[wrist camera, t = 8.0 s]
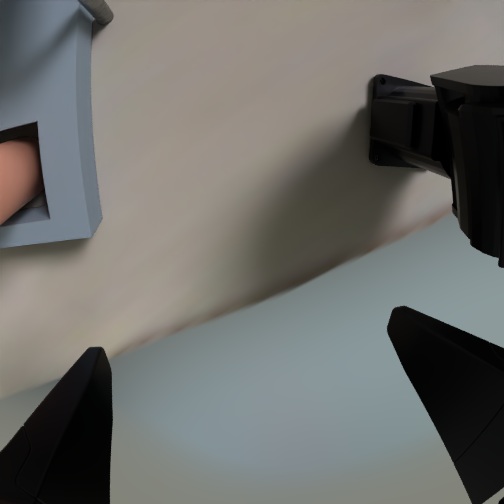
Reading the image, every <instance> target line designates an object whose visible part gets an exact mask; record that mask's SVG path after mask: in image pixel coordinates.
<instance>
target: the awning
mask: <svg viewBox="0 0 504 504" xmlns="http://www.w3.org/2000/svg"><path fill="white" fill-rule="evenodd" d="M2 1H5V0H0V2H2ZM77 1H78V2H79V3H80V4H81V5H82V6H83V7H84V8H85V9H86V10H87V11H88V12H89V13H90V14H91V15H92V16H93V17H94V18H95V19H96V20H97V21H98V22H99V23H100V24H103V25H104V24H108V23H109V22H111V21H112V19H113V16H114V15H113V12H112V11H111V9H110V8H109V6H108V5H107V3H106V2H105V0H77Z"/></svg>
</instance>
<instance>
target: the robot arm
mask: <svg viewBox="0 0 504 504" xmlns="http://www.w3.org/2000/svg"><path fill="white" fill-rule="evenodd" d="M430 78H431V82H432V85H434V87H435V88H434V87H431V86H427V85H424V84H420V83H416V82H413V81H409V80H405V79H401V78H397V77H392V76H388V75H384V74H378V75H376V76H375V77H374V84H373V101H372V112H371V129H370V136H371V141H370V154H369V160H370V162H371V163H372V164H374V165H377V166H396V167H411V168H423V169H426V170H428V171H431V172H434V173H436V174H439V175H441V176H444V177H446V178H449V179H451V184H452V194H453V204H452V212H453V214H454V215H455V216H456V217H457V218H458V221H459V225H460V229H461V230H462V231H463V232H464V234H465V235H466V236H467V237H468V238H469V239H470V244H471V246H472V247H474V248H476V249H477V250H479V251H481V252H482V253H484V254H487V255H490V256H492V257H497V258H499V261H498V266H499V267H501V268H504V66H498V65H474V66H469V67H464V68H459V69H455V70H450V71H446V72H442V73H438V74H434V75H430ZM380 79H382V84H381V83H380ZM376 156H378V159H377V160H375V157H376ZM387 332H388V335H389V337H390V340H391V342H392V344H393V346H394V348H395V350H396V353H397V355H398V357H399V359H400V362H401V364H402V366H403V368H404V370H405V372H406V374H407V376H408V378H409V379H410V381H411V383H412V385H413V386H414V388H415V390H416V392H417V394H418V395H419V397H420V399H421V401H422V403H423V405H424V406H425V408H426V410H427V412H428V414H429V416H430V418H431V420H432V422H433V423H434V425H435V427H436V429H437V431H438V433H439V435H440V437H441V439H442V441H443V443H444V445H445V447H446V449H447V451H448V453H449V455H450V457H451V459H452V461H453V462H454V466H455V468H456V470H457V472H458V474H459V476H460V478H461V480H462V482H463V485H464V487H465V489H466V491H467V493H468V496H469V498H470V500H471V503H472V504H482V503H484V502H485V501H486V500H488V499H489V498H490V497H492V496H493V495H494V494H496V493H497V492H498V491H500V490H501V489H502V488H503V487H504V348H502V347H500V346H498V345H495V344H493V343H489V342H488V341H486V340H483V339H481V338H479V337H477V336H474V335H472V334H470V333H467V332H465V331H462V330H460V329H458V328H456V327H453V326H451V325H449V324H446V323H444V322H442V321H440V320H437V319H435V318H432V317H430V316H428V315H425V314H423V313H421V312H418V311H416V310H414V309H411V308H409V307H407V306H400V307H395V308H394V309H393V310H392V313H391V316H390V319H389V323H388V326H387ZM112 425H113V410H112V372H111V367H110V364H109V362H108V359H107V356H106V353H105V351H104V349H103V348H102V347H89V348H88V349H87V350H86V351H85V352H84V353H83V354H82V356H81V357H80V358H79V359H78V360H77V361H76V362H75V364H74V365H73V366H72V367H71V368H70V369H69V370H68V372H67V373H66V374H65V375H64V376H63V377H62V379H61V380H60V381H59V382H58V383H57V384H56V386H55V387H54V388H53V389H52V390H51V391H50V393H49V394H48V395H47V396H46V397H45V399H44V400H43V401H42V402H41V403H40V405H39V406H38V407H37V408H36V410H35V411H34V412H33V413H32V414H31V416H30V417H29V418H28V419H27V421H26V422H25V423H24V426H22V427H21V428H20V429H19V430H18V432H17V433H16V434H15V435H14V437H13V438H12V439H11V440H10V442H9V443H8V444H7V445H6V446H5V447H4V448H3V450H1V452H0V504H110V462H111V440H112ZM498 504H504V497H503V498H502V499H501V500H500V501H499V503H498Z"/></svg>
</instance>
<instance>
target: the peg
mask: <svg viewBox="0 0 504 504" xmlns="http://www.w3.org/2000/svg"><path fill="white" fill-rule="evenodd" d="M44 188H45V185H44V178H43V171H42V164H41V155H40V146H39V141H38V140H36V139H34V138H31V137H20V138H17V139H14V140H10V141H7V142H4V143H1V144H0V225H1V224H2V223H3V222H4V221H6V220H7V219H8V218H9V217H10V216H12V215H13V214H14V213H15V212H16V211H18V210H19V209H20V208H21V207H23V206H24V205H25V204H26V203H28V202H29V201H30V200H31V199H33V198H34V197H35V196H37V195H38V194H39V193H40V192H41V191H42V190H43V189H44Z"/></svg>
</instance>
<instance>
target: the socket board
mask: <svg viewBox="0 0 504 504" xmlns="http://www.w3.org/2000/svg"><path fill="white" fill-rule="evenodd" d="M92 20H93V16H92V15H91V14H90V13H89V12H88V11H87V10H86V9H85V8H84V7H83V6H82V5H81V4H80V3H79V2H78V1H77V0H5V1H2V2H0V132H2V131H5V130H9V129H13V128H16V127H20V126H24V125H28V124H32V123H36V122H38V135H39V146H40V155H41V164H42V171H43V178H44V185H45V191H46V197H47V203H48V206H43V207H37V208H31V209H25V210H19V211H16V212H15V213H14V214H13V215H12V216H10V217H9V218H8V219H7V220H6V221H4V222H3V223H2V224H1V225H0V248H7V247H15V246H23V245H30V244H38V243H47V242H55V241H63V240H72V239H81V238H90V237H92V236H93V234H94V233H95V231H96V229H97V227H98V225H99V224H100V222H101V220H102V219H103V218H102V212H101V205H100V198H99V191H98V183H97V174H96V165H95V154H94V143H93V129H92V110H91V38H92Z"/></svg>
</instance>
